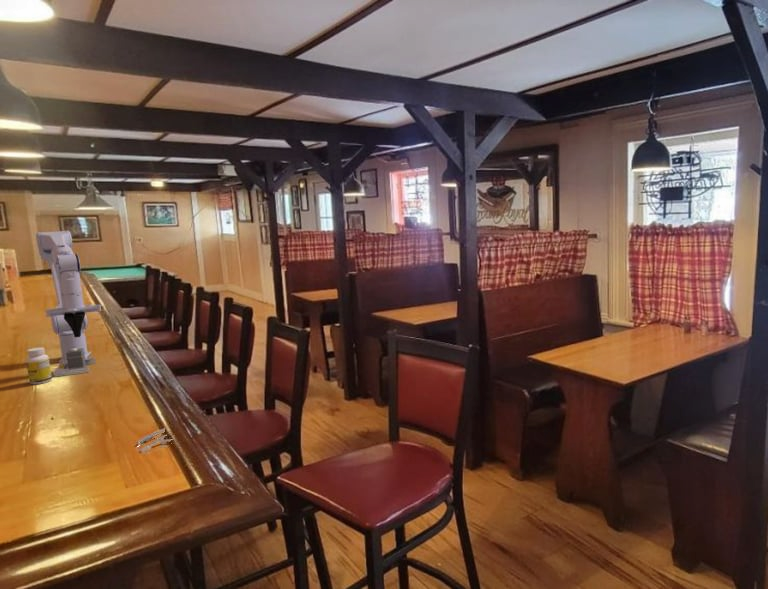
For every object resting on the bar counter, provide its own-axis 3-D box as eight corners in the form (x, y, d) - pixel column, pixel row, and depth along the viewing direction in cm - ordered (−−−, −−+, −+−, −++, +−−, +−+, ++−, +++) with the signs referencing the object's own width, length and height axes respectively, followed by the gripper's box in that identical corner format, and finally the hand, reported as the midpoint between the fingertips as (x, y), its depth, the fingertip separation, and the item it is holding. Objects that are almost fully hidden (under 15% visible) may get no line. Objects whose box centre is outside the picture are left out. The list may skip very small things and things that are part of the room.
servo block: (72, 367, 162) (69, 346, 161) (86, 365, 163) (83, 345, 162) (68, 372, 156) (65, 351, 155) (83, 370, 158) (80, 349, 157)
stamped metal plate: (167, 434, 106) (166, 427, 106) (185, 441, 102) (184, 434, 102) (129, 448, 100) (128, 441, 100) (146, 457, 96) (145, 449, 96)
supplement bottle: (25, 383, 147) (20, 350, 145) (45, 378, 151) (40, 346, 150) (36, 385, 144) (31, 352, 143) (56, 380, 149) (51, 347, 147)
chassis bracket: (63, 366, 164) (62, 359, 164) (95, 361, 167) (94, 355, 167) (54, 377, 152) (53, 370, 152) (88, 372, 155) (87, 365, 155)
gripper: (40, 297, 151) (47, 342, 153) (96, 292, 156) (102, 335, 158) (46, 294, 157) (53, 337, 160) (99, 289, 163) (105, 331, 165)
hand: (77, 336), depth 159 cm, fingers closed
